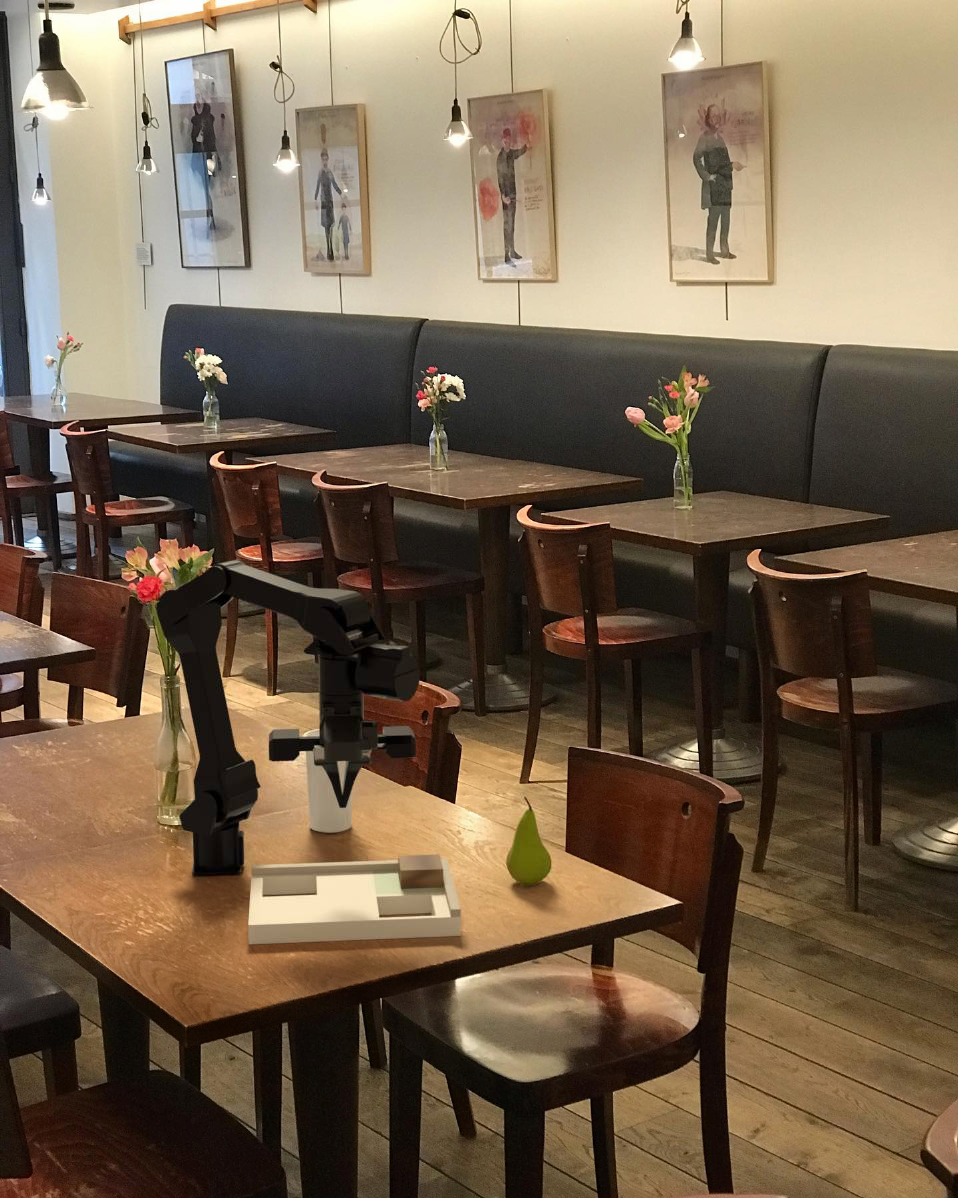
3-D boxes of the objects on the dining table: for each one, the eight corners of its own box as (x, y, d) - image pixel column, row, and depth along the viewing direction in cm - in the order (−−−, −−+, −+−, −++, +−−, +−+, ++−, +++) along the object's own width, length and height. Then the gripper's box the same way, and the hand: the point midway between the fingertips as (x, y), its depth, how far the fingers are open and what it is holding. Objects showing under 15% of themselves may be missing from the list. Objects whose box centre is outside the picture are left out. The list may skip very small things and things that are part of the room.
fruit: (548, 893, 212) (549, 807, 210) (502, 890, 213) (502, 804, 211) (554, 876, 219) (555, 792, 216) (509, 873, 220) (510, 789, 217)
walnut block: (400, 889, 207) (400, 870, 206) (398, 873, 212) (398, 855, 212) (443, 887, 207) (443, 869, 207) (439, 872, 213) (439, 854, 212)
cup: (293, 833, 235) (292, 739, 233) (319, 816, 243) (318, 725, 240) (342, 840, 232) (341, 745, 230) (367, 823, 240) (366, 731, 237)
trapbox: (248, 944, 195) (248, 917, 195) (252, 890, 213) (251, 865, 212) (460, 936, 198) (460, 909, 197) (446, 883, 216) (446, 858, 215)
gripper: (266, 708, 196) (269, 830, 199) (418, 704, 198) (419, 825, 201) (268, 686, 207) (270, 802, 210) (412, 683, 209) (412, 797, 212)
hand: (342, 807), depth 208 cm, fingers closed
